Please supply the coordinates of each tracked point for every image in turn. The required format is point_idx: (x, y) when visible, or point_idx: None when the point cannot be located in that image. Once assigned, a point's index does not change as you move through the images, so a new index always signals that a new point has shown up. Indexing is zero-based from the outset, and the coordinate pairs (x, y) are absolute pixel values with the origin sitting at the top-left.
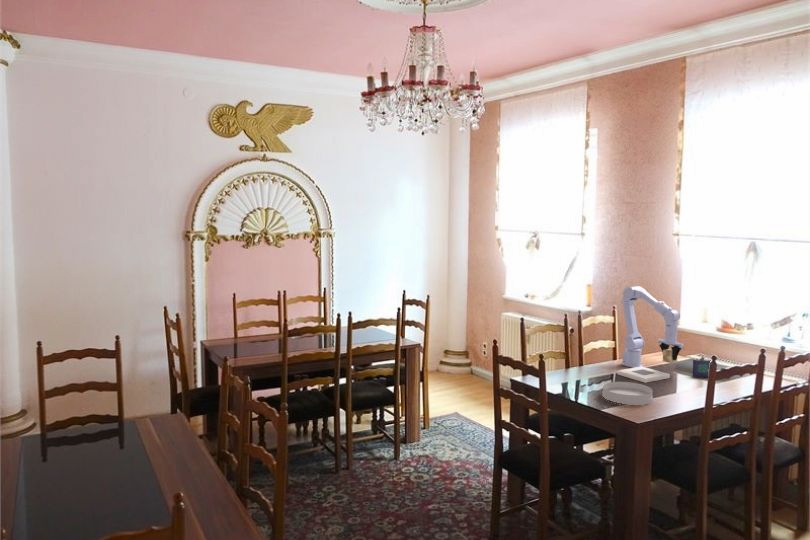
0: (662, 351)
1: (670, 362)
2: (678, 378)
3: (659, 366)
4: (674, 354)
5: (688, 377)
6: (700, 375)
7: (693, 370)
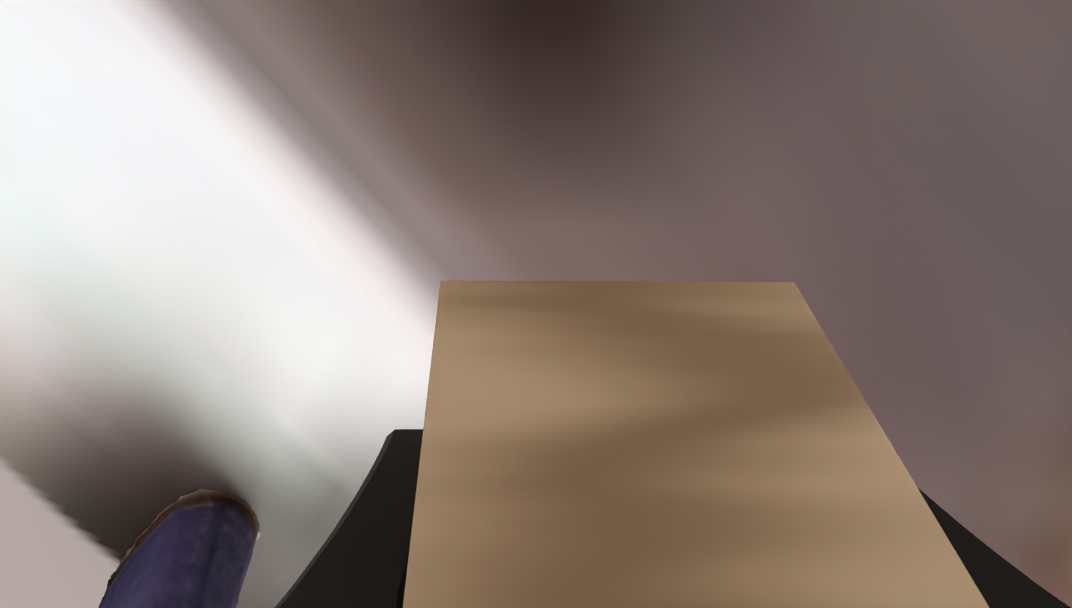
0: (1018, 584)
1: (450, 292)
2: (215, 126)
3: (1052, 541)
4: (288, 598)
5: (201, 375)
6: (118, 579)
7: (181, 587)
